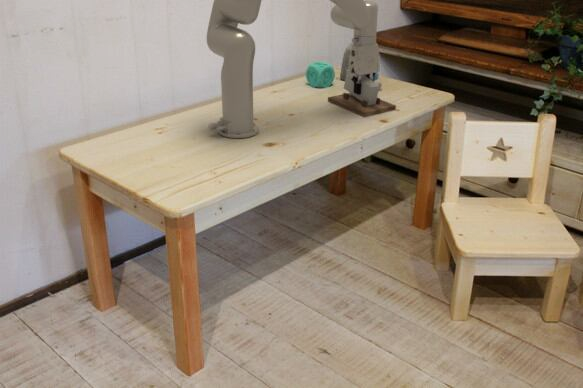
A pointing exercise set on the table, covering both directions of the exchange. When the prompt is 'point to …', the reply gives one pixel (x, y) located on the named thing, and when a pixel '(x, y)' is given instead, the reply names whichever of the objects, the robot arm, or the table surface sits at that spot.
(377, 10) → the robot arm
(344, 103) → the brown board
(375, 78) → the rainbow petal toy
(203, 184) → the table surface
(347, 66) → the decorative stone
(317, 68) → the decorative dice
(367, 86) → the gray rectangular block
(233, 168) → the table surface
